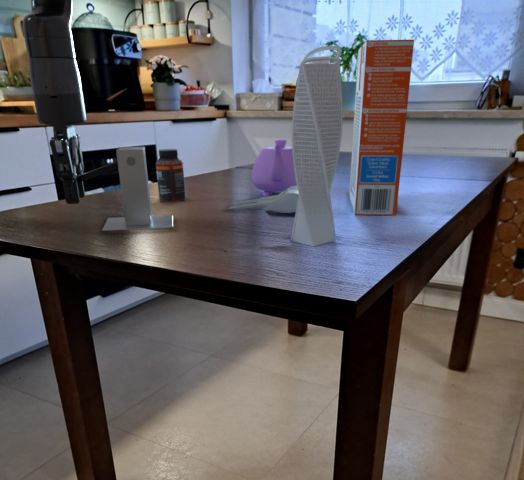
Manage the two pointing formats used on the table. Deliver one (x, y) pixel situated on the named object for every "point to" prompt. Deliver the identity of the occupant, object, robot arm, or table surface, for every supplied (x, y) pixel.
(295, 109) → the skyscraper
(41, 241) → the table surface
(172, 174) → the supplement bottle
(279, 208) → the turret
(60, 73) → the robot arm
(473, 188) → the table surface
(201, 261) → the table surface
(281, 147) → the teapot
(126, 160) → the upright plaque on base
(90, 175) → the lever
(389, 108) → the orange cereal box
